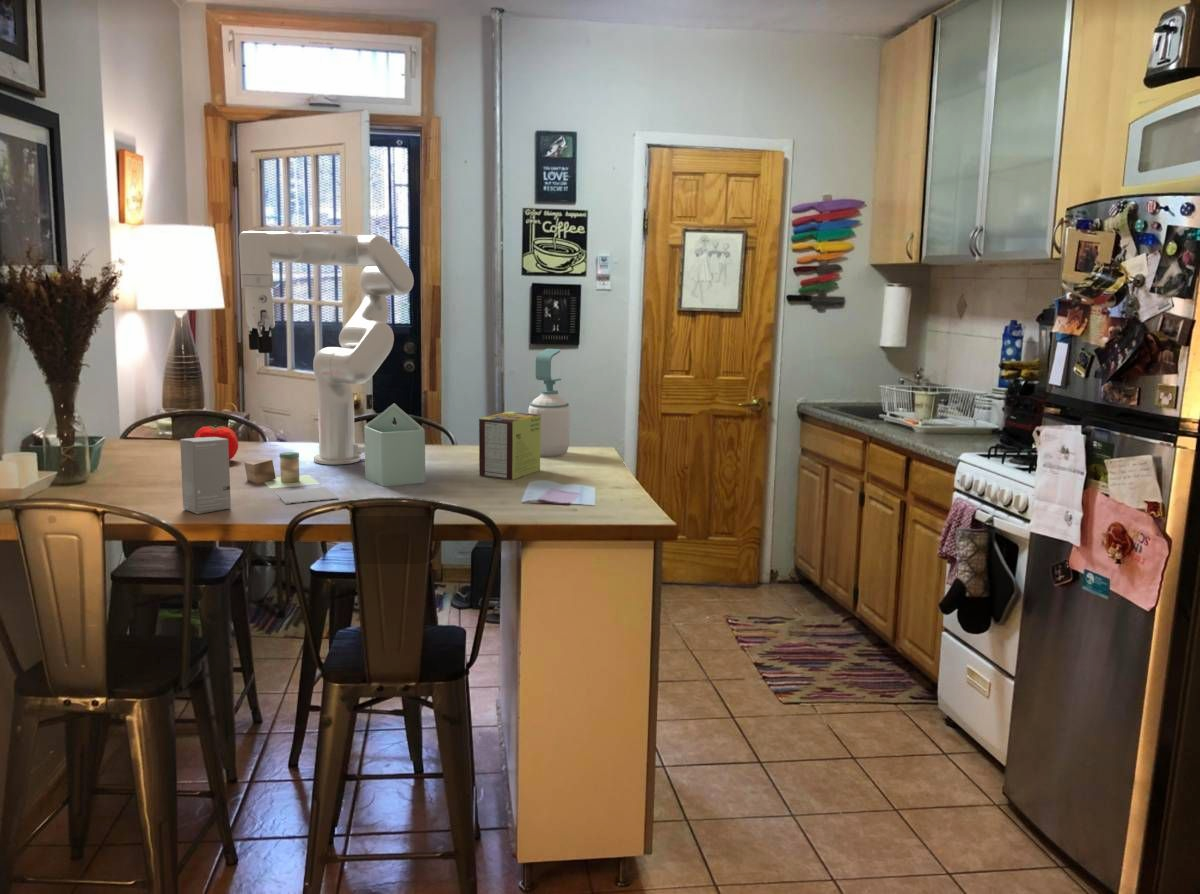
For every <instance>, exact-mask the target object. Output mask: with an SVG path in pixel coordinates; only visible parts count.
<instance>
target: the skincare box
mask: <svg viewBox="0 0 1200 894" xmlns="http://www.w3.org/2000/svg"><path fill="white" fill-rule="evenodd" d="M179 443H180V445H179V446H180V463H181V465H180V468H181V486H182V487H181V489H182V508H183V510H185V511H188V512H190V513H191V512H192V513H194V514H196V515H201V514H207V513H211V512H217V511H223V510H228V509H229V510H230V509H231V508H232V507H231V505H232V504H231V475H230V460H229V447H228V439H225V438H219V437H204V438H202V437H200V438H194V437H190V438H181V439H179Z"/></svg>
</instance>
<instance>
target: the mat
mask: <svg viewBox="0 0 1200 894" xmlns="http://www.w3.org/2000/svg"><path fill="white" fill-rule="evenodd" d="M275 477H276V476H275ZM263 483H264V484H265V485H266V486H267V487H268V488H269V489H282V488H292V487H293V488H295V487H302V486H304V487H305V486H306V487H307V486H314V485H315V486H317V485H321V483H320V482H319V481H317V480H316V479H315V478H314V477H312V476H311V475H309V474H299V482H296V483H282V482H281V476H278V477H276V479H274V480H271V481H267V482H263Z"/></svg>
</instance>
